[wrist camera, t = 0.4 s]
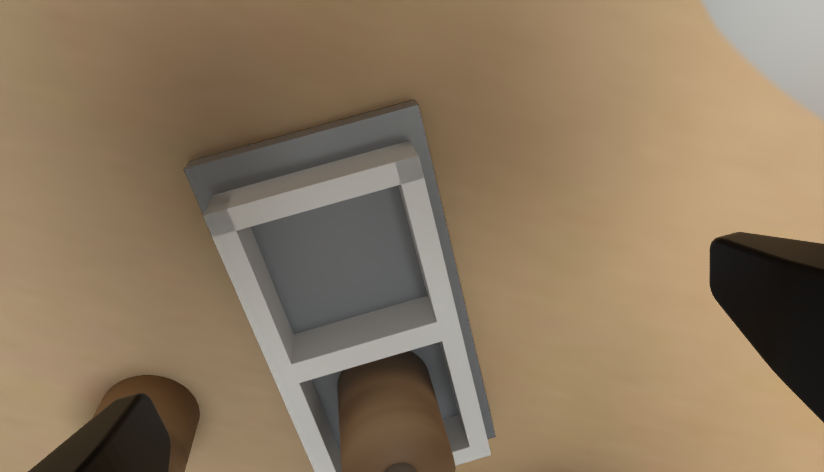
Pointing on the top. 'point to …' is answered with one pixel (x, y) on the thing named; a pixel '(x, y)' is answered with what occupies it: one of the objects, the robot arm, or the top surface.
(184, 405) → the brown cylinder
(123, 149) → the top surface
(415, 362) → the brown housed cylinder
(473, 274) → the top surface
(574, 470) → the top surface
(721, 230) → the top surface
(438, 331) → the housing
